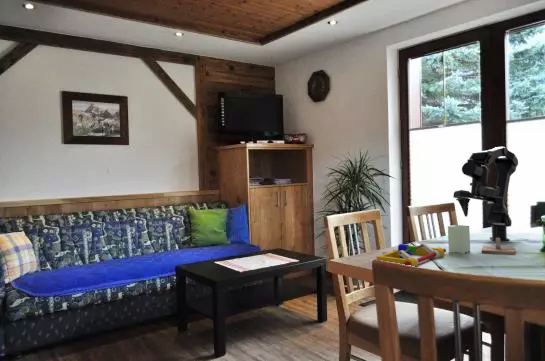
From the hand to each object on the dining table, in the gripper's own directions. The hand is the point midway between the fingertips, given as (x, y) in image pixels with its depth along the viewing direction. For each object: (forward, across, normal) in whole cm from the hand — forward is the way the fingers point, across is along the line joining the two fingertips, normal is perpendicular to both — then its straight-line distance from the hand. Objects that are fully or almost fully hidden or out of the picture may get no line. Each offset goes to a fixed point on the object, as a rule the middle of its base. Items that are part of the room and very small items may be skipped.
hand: (476, 218), depth 172 cm
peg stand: (+12, +4, -9) cm, 16 cm away
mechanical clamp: (+21, -32, -10) cm, 39 cm away
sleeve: (+15, -9, -5) cm, 18 cm away
